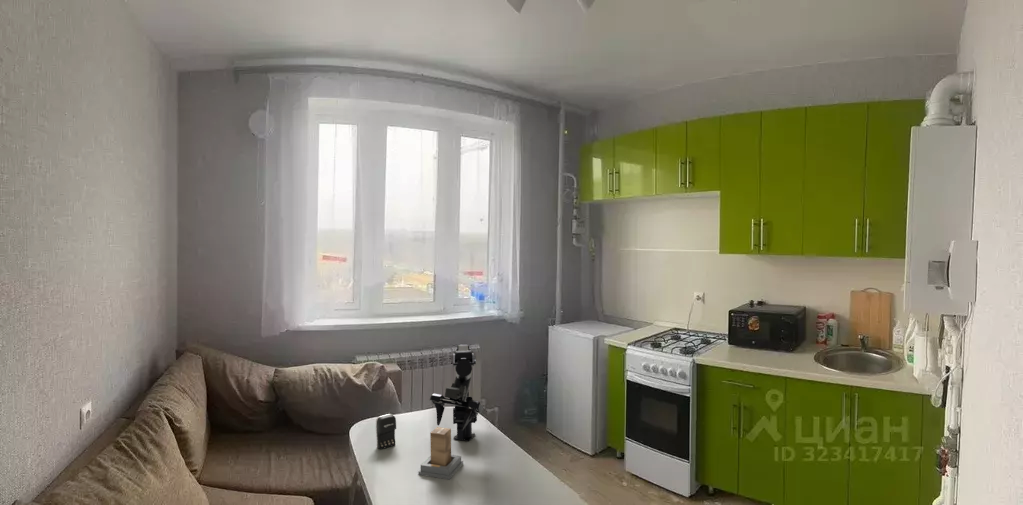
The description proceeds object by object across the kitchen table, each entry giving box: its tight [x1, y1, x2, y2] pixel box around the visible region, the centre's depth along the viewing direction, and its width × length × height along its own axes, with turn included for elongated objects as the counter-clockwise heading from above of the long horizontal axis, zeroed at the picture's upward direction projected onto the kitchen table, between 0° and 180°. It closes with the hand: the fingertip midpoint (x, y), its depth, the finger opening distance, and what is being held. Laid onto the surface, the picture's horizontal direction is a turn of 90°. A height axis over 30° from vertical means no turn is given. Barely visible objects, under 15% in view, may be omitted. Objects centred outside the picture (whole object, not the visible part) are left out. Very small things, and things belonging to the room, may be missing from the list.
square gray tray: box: [417, 454, 464, 480], centre depth 167 cm, size 11×11×3 cm
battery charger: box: [375, 413, 397, 450], centre depth 185 cm, size 7×4×11 cm, turn 128°
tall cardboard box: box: [430, 426, 452, 466], centre depth 167 cm, size 5×5×12 cm
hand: (450, 427), depth 176 cm, fingers open, 9 cm apart
